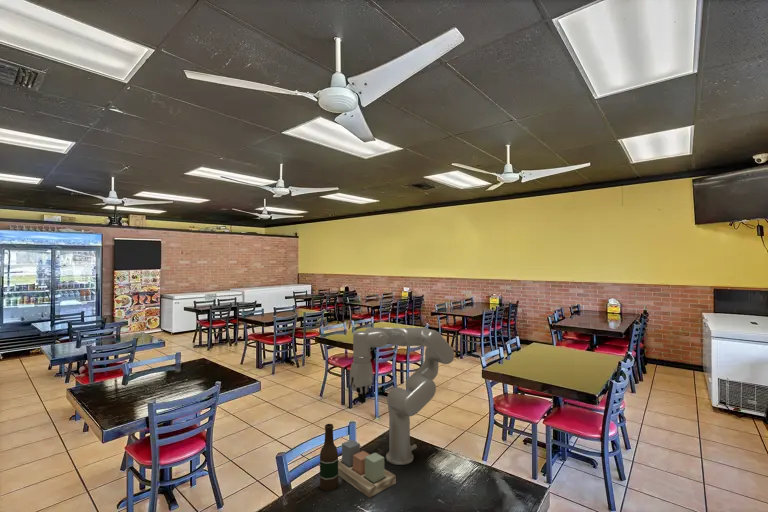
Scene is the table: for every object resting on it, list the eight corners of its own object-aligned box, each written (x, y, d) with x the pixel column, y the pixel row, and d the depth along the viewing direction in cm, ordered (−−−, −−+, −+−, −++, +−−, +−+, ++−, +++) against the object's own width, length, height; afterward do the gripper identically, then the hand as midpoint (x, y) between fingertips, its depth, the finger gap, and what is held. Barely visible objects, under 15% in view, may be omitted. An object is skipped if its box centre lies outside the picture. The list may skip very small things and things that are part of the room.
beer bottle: (334, 492, 141) (335, 429, 142) (316, 490, 143) (316, 428, 144) (341, 481, 149) (341, 421, 150) (323, 479, 150) (323, 420, 151)
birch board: (356, 459, 166) (356, 452, 166) (395, 483, 147) (395, 475, 147) (331, 470, 157) (331, 463, 157) (369, 497, 138) (369, 489, 138)
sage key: (375, 472, 150) (375, 452, 151) (384, 477, 146) (384, 457, 146) (364, 477, 146) (364, 457, 147) (373, 483, 142) (373, 462, 143)
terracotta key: (363, 469, 156) (363, 450, 156) (371, 475, 152) (371, 455, 152) (353, 474, 152) (353, 455, 153) (361, 480, 148) (361, 460, 148)
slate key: (352, 457, 162) (352, 439, 162) (359, 462, 158) (359, 443, 158) (341, 462, 158) (341, 443, 159) (349, 467, 154) (349, 448, 155)
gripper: (369, 355, 167) (369, 395, 166) (342, 360, 157) (342, 404, 156) (380, 358, 161) (380, 400, 161) (353, 364, 151) (353, 408, 151)
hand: (361, 401), depth 158 cm, fingers closed
